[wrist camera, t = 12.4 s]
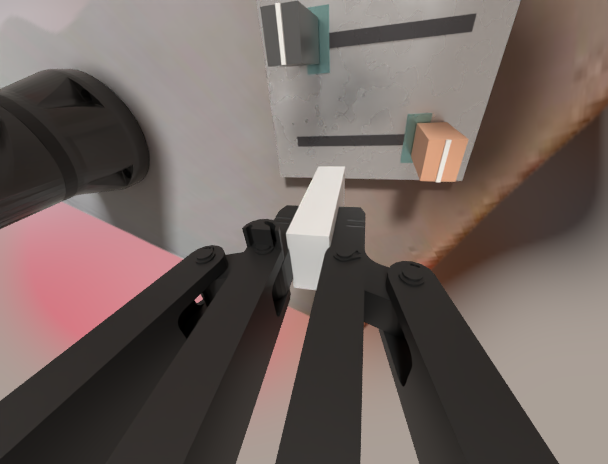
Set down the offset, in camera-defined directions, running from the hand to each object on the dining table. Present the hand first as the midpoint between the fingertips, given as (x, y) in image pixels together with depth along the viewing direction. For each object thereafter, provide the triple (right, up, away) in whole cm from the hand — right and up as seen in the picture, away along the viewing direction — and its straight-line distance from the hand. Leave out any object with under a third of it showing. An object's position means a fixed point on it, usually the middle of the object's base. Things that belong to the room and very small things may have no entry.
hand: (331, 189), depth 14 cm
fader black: (-2, +13, +6) cm, 15 cm away
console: (+5, +11, +9) cm, 15 cm away
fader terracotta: (+10, +6, +8) cm, 14 cm away
